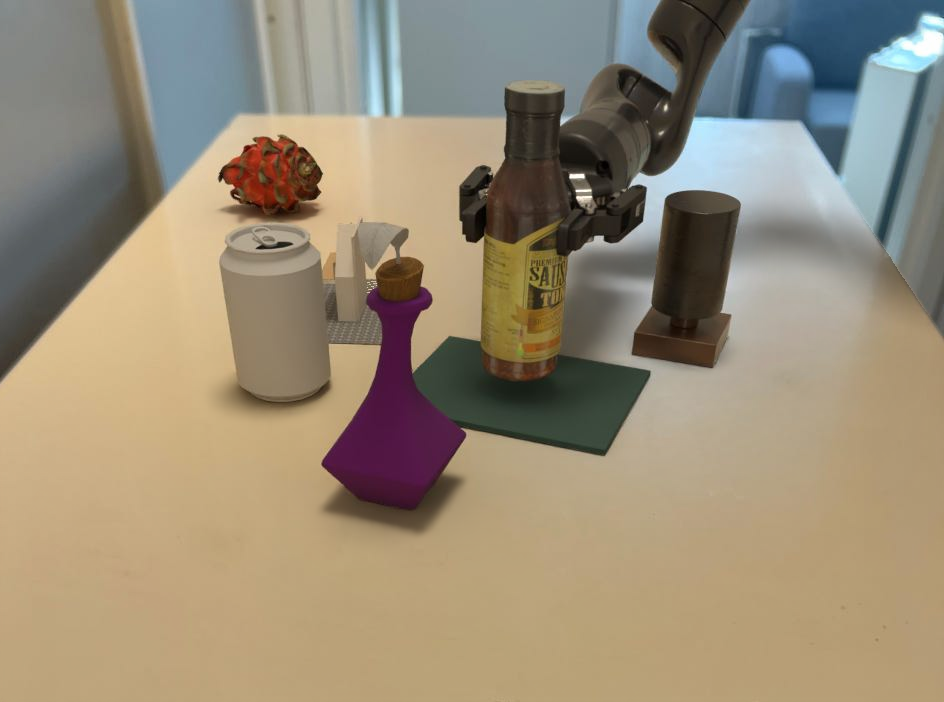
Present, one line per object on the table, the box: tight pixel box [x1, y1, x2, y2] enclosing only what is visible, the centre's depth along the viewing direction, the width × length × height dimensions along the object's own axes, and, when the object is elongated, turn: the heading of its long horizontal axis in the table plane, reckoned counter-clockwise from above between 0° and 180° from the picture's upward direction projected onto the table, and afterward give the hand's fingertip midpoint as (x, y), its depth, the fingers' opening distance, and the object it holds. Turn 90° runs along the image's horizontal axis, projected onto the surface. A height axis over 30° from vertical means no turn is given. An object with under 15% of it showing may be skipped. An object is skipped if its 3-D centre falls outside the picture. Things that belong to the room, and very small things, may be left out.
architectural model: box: [322, 215, 382, 345], centre depth 90 cm, size 3×7×7 cm, turn 177°
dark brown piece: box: [631, 189, 742, 368], centre depth 83 cm, size 7×7×12 cm
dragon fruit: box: [217, 134, 324, 217], centre depth 111 cm, size 8×8×12 cm
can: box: [218, 221, 332, 403], centre depth 76 cm, size 8×8×12 cm
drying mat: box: [412, 335, 652, 456], centre depth 79 cm, size 18×14×1 cm
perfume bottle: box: [321, 221, 467, 511], centre depth 62 cm, size 8×8×18 cm
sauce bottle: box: [480, 79, 571, 382], centre depth 72 cm, size 7×6×20 cm
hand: (515, 235), depth 69 cm, fingers closed on sauce bottle, 6 cm apart
